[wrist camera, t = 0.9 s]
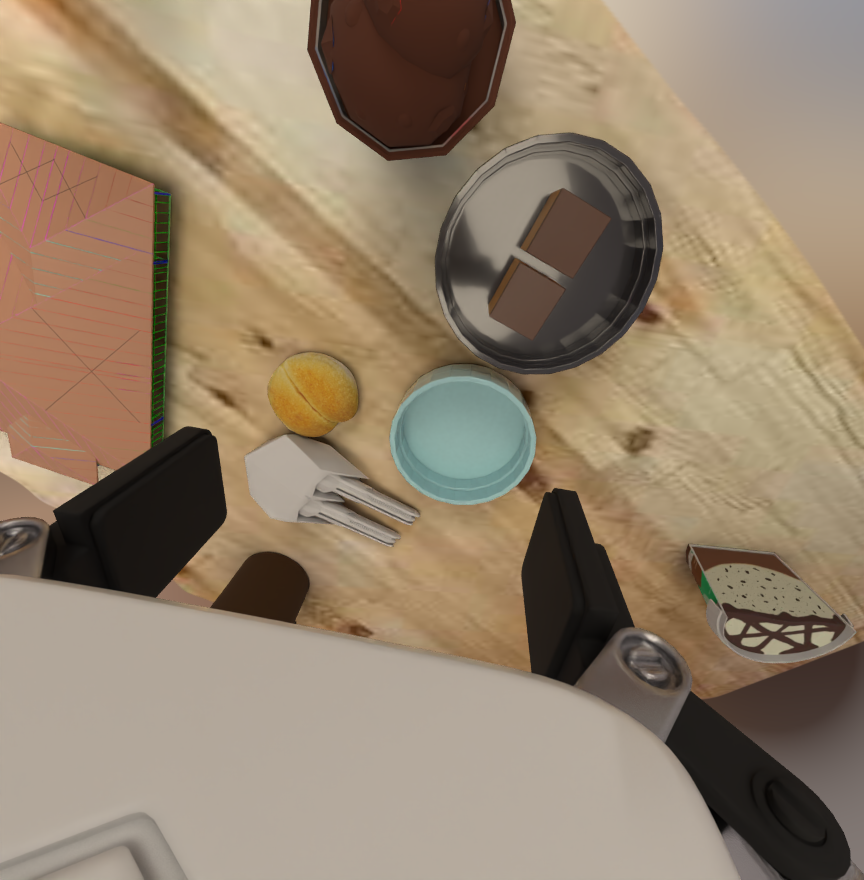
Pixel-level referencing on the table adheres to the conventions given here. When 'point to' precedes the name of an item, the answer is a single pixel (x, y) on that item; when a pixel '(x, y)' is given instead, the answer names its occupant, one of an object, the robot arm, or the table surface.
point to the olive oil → (266, 588)
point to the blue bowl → (463, 435)
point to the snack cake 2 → (565, 232)
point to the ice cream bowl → (410, 68)
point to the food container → (764, 606)
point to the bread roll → (312, 393)
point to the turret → (317, 487)
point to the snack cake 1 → (524, 299)
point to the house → (76, 308)
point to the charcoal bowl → (499, 242)
